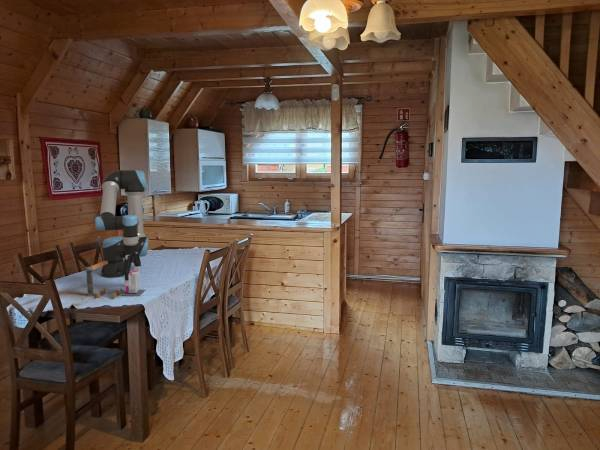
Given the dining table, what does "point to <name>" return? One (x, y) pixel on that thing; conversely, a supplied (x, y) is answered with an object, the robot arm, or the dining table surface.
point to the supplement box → (133, 283)
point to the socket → (90, 290)
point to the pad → (132, 294)
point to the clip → (96, 266)
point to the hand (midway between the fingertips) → (132, 281)
